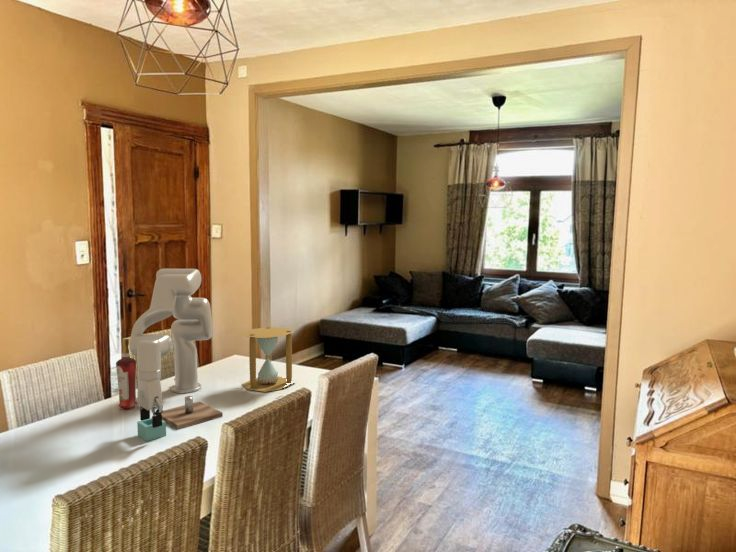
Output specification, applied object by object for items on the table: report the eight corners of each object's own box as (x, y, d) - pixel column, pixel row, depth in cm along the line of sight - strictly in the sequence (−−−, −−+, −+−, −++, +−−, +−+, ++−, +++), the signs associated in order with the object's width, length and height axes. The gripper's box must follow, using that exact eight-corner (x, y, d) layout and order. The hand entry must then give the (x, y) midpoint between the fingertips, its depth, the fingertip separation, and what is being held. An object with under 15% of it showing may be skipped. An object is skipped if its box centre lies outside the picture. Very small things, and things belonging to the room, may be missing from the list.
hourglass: (272, 374, 260) (271, 324, 257) (304, 383, 245) (303, 330, 243) (232, 385, 241) (231, 331, 239) (264, 395, 227) (263, 338, 225)
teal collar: (137, 435, 185) (137, 421, 184) (157, 429, 190) (157, 416, 189) (146, 441, 180) (145, 427, 179) (166, 435, 185) (165, 421, 184)
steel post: (183, 412, 203) (183, 397, 202) (191, 410, 205) (190, 395, 204) (187, 414, 201) (187, 399, 200) (194, 412, 203) (194, 397, 202)
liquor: (113, 409, 210) (110, 340, 208) (129, 403, 217) (126, 336, 214) (126, 412, 207) (123, 342, 204) (141, 406, 213) (139, 338, 211)
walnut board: (156, 416, 203) (156, 412, 203) (199, 404, 216) (199, 401, 216) (177, 429, 190) (177, 425, 190) (222, 416, 203) (222, 412, 203)
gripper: (128, 372, 186) (130, 419, 187) (149, 382, 174) (151, 432, 175) (149, 368, 191) (151, 414, 193) (171, 377, 179) (172, 426, 180)
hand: (151, 422), depth 184 cm, fingers open, 9 cm apart
